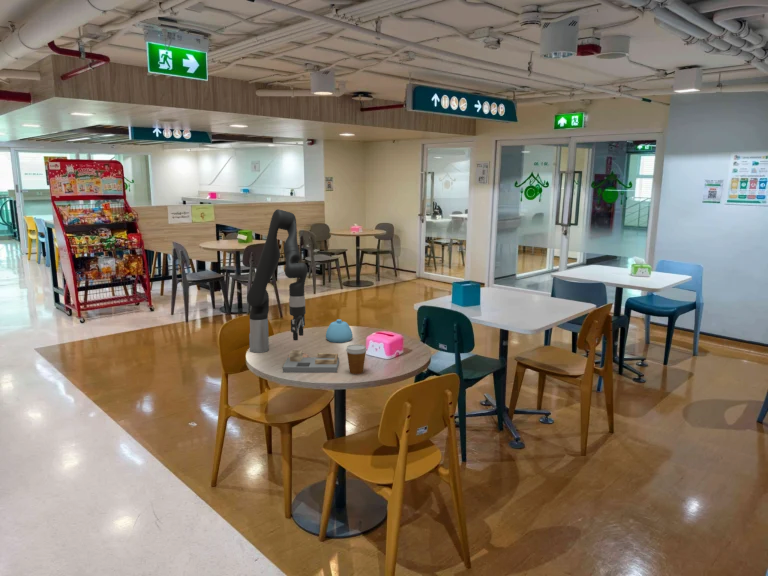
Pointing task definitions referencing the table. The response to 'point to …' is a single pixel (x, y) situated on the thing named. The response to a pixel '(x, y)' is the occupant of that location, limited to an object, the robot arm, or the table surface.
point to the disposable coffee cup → (356, 358)
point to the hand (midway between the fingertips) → (298, 337)
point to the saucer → (303, 355)
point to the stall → (327, 360)
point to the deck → (310, 365)
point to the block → (296, 355)
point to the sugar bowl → (339, 332)
